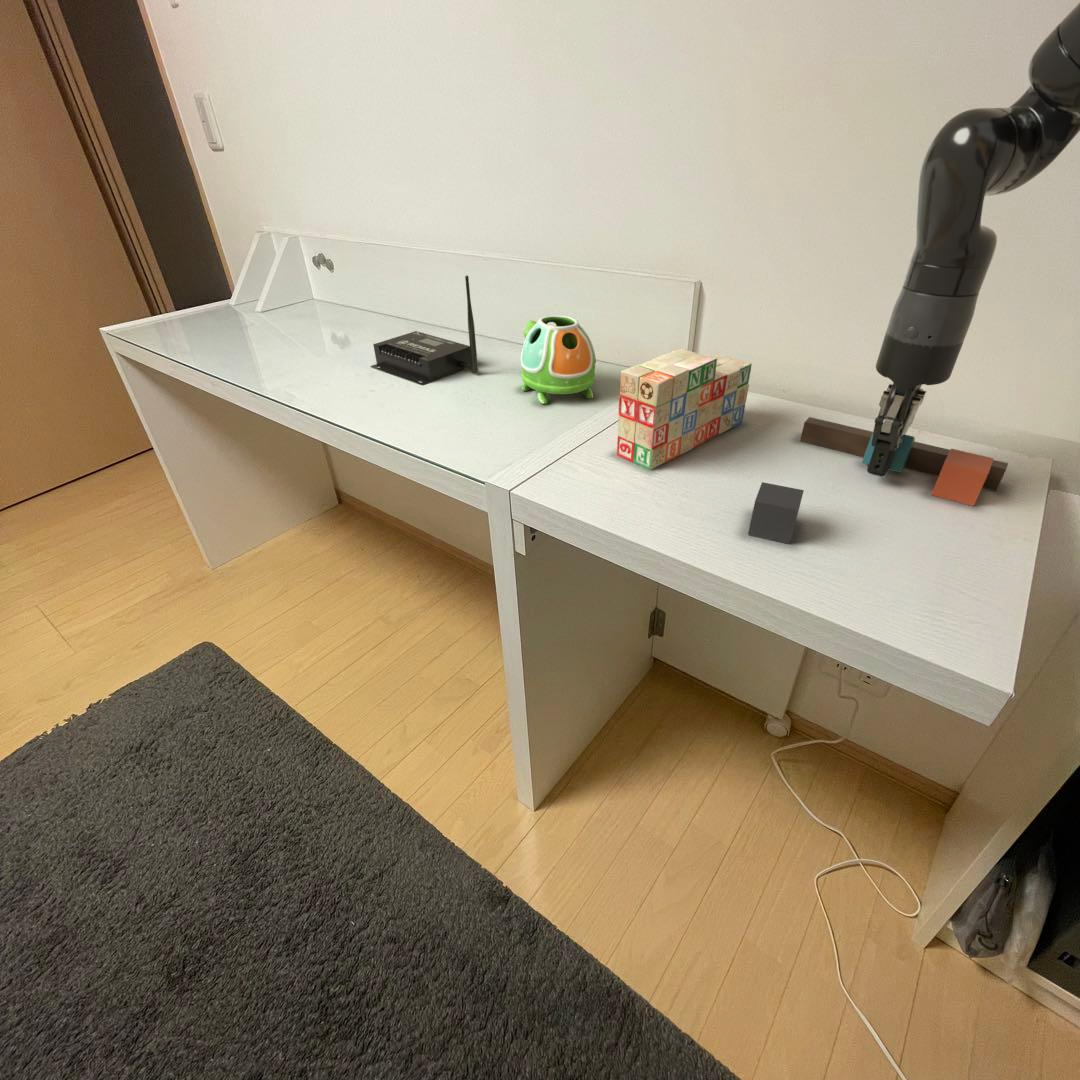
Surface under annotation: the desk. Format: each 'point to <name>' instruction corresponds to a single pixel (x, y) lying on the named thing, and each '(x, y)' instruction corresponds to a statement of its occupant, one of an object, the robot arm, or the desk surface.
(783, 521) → the block charcoal
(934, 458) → the rail
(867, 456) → the block teal
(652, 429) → the stack of blocks
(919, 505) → the desk surface
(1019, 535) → the desk surface
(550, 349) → the turtle holder
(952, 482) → the block terracotta
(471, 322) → the wireless controller
